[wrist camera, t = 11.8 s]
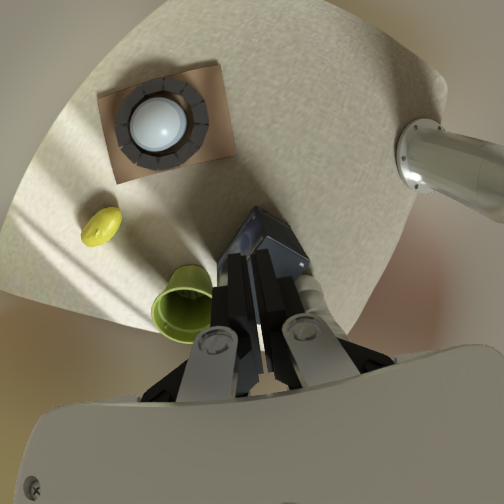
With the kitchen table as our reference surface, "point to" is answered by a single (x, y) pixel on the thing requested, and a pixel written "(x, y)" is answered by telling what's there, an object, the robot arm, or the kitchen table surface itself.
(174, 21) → the kitchen table surface
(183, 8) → the kitchen table surface
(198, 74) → the board
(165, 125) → the cap
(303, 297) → the plastic bottle
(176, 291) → the plant pot
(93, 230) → the lemon
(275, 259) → the small box
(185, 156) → the segmented ring
